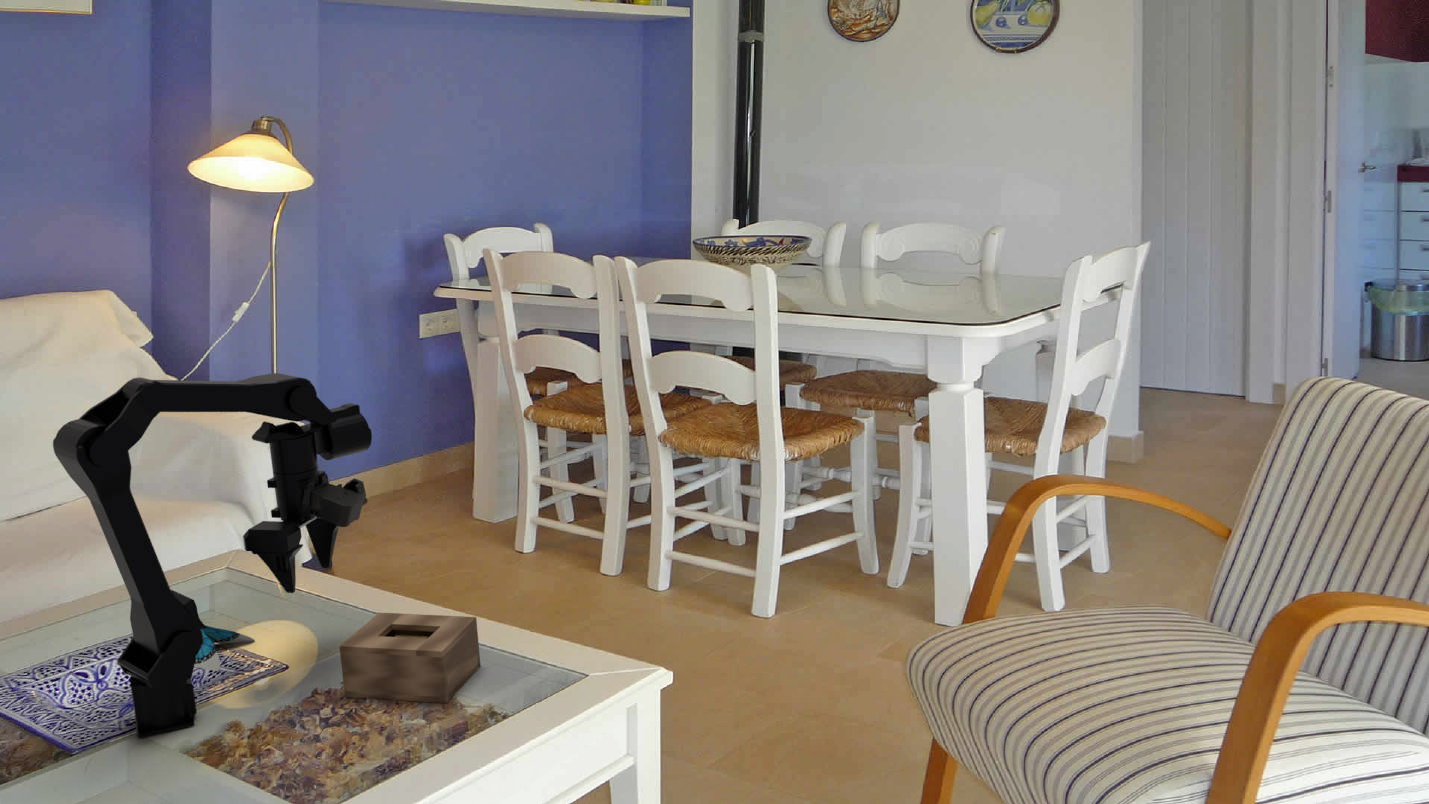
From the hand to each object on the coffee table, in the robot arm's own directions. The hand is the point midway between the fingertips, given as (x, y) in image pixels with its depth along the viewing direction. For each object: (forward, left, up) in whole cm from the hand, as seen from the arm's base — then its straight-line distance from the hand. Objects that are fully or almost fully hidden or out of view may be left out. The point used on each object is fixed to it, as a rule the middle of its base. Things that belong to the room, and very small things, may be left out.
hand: (309, 579), depth 169 cm
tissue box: (+10, -13, -12) cm, 20 cm away
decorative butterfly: (-14, +12, -13) cm, 22 cm away
